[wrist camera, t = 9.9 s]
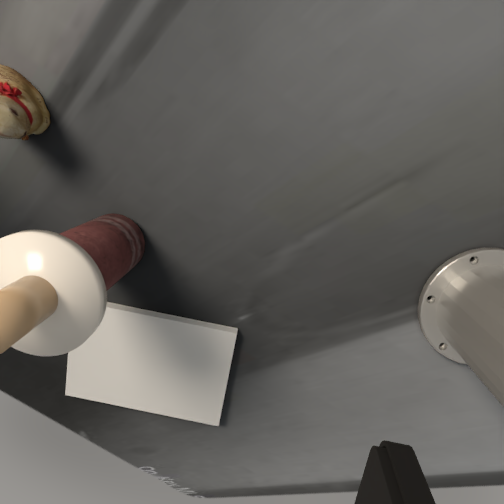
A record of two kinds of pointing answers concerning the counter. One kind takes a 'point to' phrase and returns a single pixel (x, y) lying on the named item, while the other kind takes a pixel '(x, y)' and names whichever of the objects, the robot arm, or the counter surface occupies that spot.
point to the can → (110, 244)
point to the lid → (48, 293)
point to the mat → (154, 364)
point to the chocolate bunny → (20, 106)
